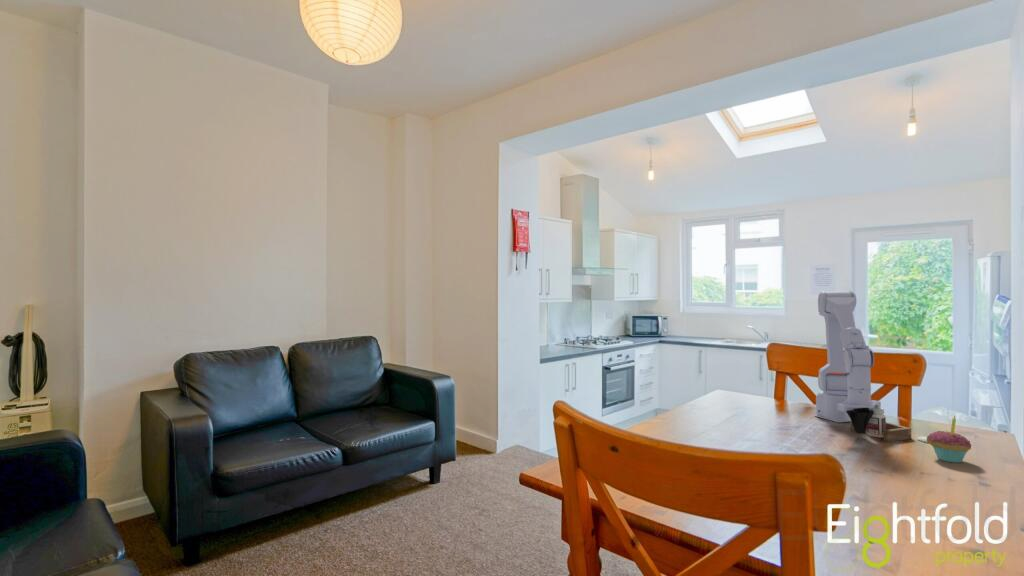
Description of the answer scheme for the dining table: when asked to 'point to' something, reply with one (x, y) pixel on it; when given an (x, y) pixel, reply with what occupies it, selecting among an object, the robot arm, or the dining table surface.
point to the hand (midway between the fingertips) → (859, 433)
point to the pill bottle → (876, 423)
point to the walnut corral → (894, 432)
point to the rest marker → (922, 439)
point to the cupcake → (949, 445)
